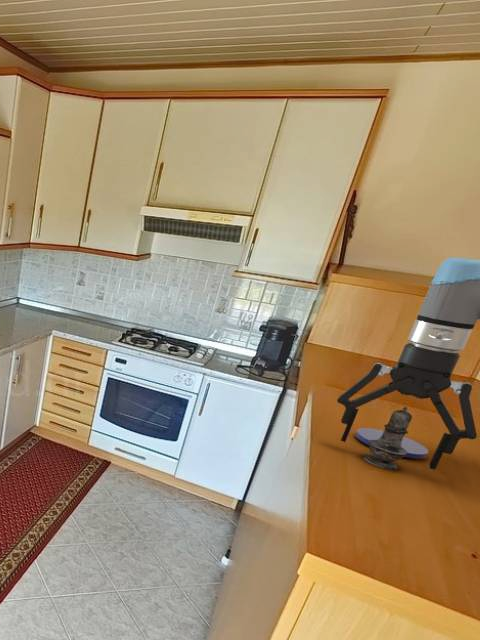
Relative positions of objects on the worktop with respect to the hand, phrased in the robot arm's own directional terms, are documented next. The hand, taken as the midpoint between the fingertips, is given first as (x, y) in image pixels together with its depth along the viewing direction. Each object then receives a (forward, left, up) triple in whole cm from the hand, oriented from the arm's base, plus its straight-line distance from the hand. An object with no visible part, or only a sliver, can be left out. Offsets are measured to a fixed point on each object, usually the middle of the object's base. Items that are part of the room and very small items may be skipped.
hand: (385, 452), depth 94 cm
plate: (+8, -9, -2) cm, 13 cm away
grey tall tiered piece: (0, 0, -2) cm, 2 cm away
